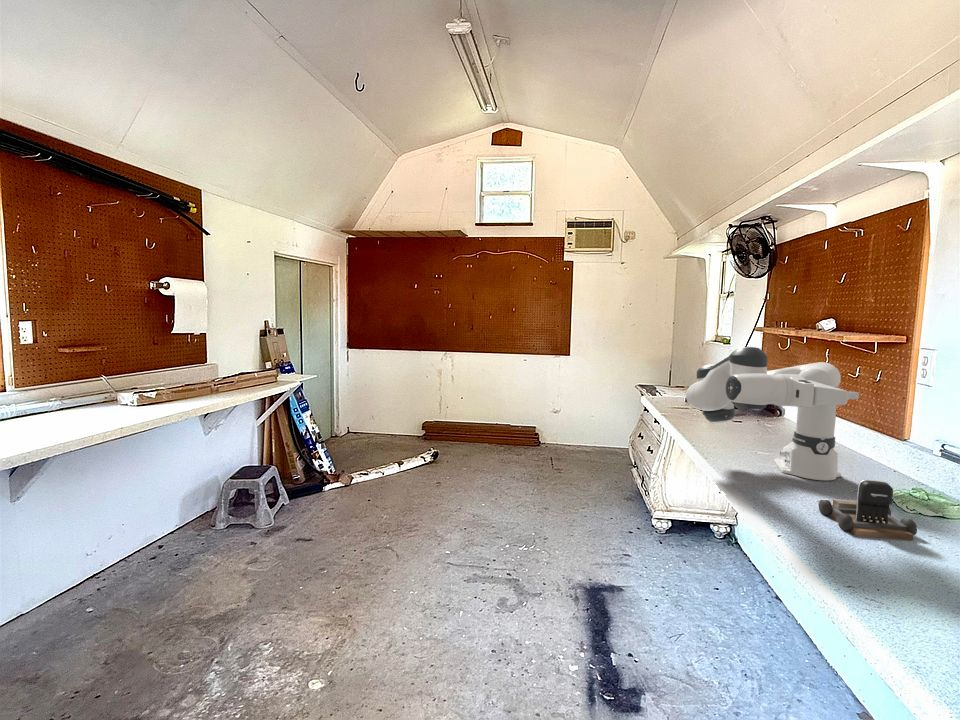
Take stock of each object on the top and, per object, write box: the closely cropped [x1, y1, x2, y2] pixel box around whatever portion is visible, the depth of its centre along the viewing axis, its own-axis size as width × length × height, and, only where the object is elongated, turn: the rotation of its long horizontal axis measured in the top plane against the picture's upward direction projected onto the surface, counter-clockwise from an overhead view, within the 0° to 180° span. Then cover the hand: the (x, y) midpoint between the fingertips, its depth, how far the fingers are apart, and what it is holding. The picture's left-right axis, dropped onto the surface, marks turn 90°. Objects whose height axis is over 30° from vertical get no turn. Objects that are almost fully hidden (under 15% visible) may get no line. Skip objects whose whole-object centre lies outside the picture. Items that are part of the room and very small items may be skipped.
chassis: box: [818, 498, 918, 541], centre depth 134 cm, size 17×16×4 cm
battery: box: [855, 479, 894, 524], centre depth 130 cm, size 7×4×11 cm, turn 73°
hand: (847, 392), depth 135 cm, fingers open, 8 cm apart
